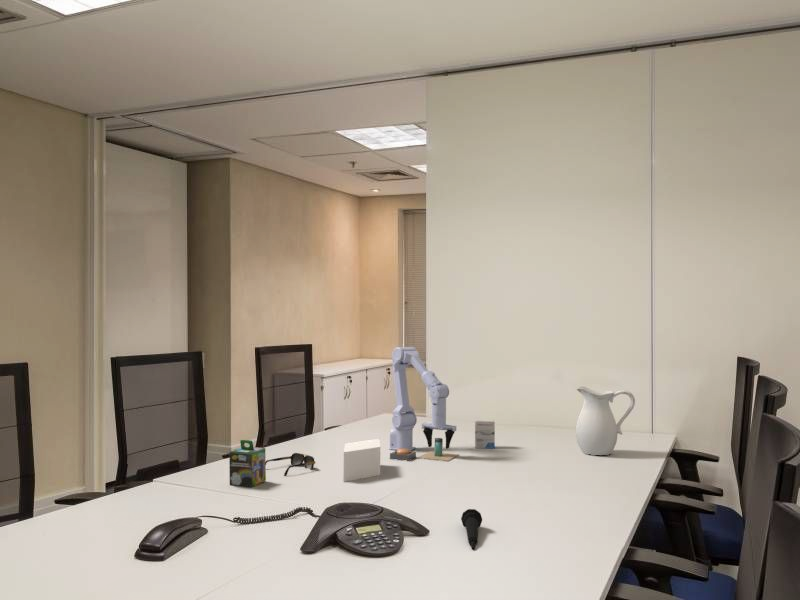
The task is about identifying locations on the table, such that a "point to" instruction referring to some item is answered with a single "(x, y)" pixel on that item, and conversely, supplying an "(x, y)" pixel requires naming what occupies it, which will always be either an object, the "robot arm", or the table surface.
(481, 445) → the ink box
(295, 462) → the sunglasses
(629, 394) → the pitcher
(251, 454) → the chalk box
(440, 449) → the cylindrical container
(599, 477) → the table surface
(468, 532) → the microphone
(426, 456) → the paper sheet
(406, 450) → the button
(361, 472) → the white rectangular block
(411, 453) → the button frame
